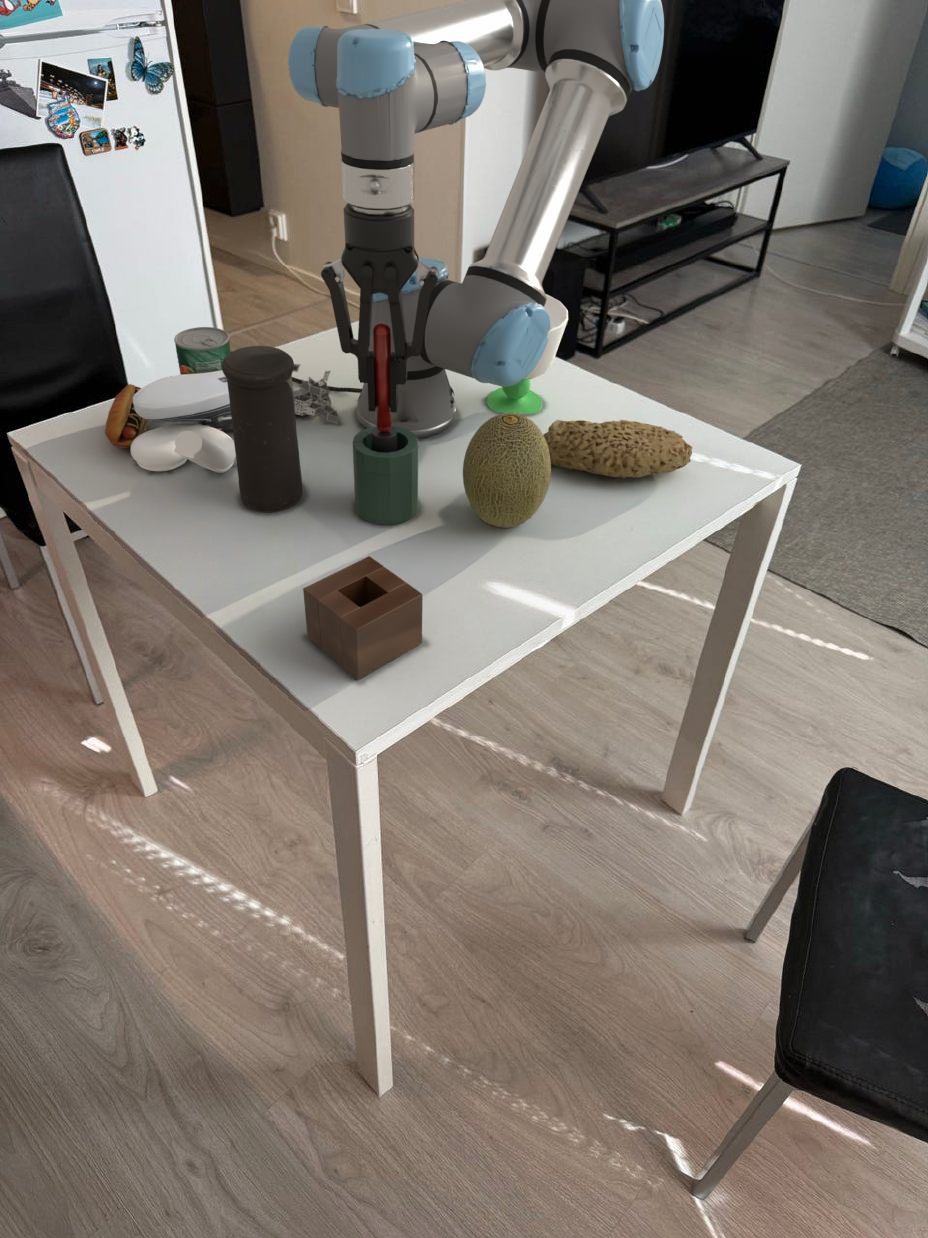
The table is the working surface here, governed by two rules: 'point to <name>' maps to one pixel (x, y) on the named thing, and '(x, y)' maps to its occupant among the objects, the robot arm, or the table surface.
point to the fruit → (507, 470)
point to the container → (264, 427)
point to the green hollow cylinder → (386, 478)
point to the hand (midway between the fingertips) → (383, 406)
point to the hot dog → (124, 419)
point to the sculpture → (184, 448)
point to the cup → (519, 394)
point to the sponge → (616, 448)
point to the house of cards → (314, 398)
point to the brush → (383, 391)
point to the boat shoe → (187, 400)
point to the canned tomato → (201, 349)
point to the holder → (363, 616)
